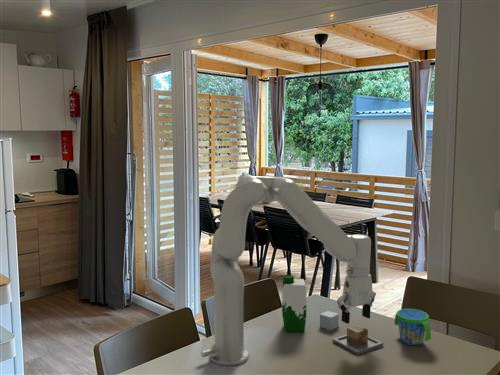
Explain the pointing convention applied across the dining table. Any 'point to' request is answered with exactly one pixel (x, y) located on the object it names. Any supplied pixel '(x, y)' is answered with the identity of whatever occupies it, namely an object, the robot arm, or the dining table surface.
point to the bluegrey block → (329, 320)
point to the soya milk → (293, 304)
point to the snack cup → (413, 326)
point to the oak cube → (357, 335)
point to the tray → (358, 350)
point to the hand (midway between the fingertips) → (355, 319)
